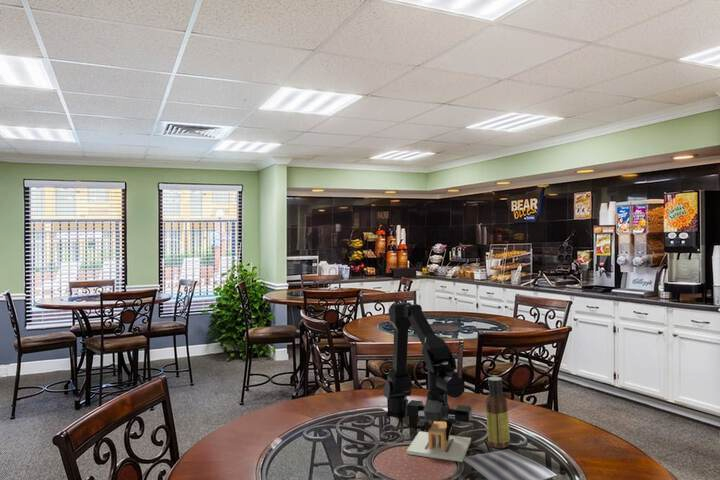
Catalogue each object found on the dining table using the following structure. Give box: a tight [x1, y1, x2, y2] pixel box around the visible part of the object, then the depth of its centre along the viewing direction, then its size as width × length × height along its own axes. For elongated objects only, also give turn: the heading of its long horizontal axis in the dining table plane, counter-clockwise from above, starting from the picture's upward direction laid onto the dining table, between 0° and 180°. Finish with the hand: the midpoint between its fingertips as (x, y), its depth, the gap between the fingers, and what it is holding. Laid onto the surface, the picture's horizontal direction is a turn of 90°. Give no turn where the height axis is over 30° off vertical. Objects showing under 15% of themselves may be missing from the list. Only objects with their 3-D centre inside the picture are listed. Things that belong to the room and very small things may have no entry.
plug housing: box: [427, 420, 450, 450], centre depth 149 cm, size 8×4×5 cm, turn 158°
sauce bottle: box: [485, 376, 511, 449], centre depth 150 cm, size 7×6×20 cm
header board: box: [406, 431, 472, 463], centre depth 149 cm, size 16×14×5 cm
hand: (439, 439), depth 149 cm, fingers closed on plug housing, 4 cm apart
